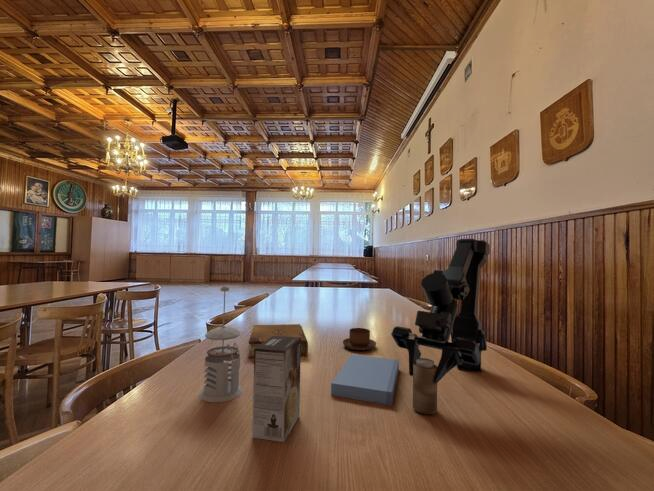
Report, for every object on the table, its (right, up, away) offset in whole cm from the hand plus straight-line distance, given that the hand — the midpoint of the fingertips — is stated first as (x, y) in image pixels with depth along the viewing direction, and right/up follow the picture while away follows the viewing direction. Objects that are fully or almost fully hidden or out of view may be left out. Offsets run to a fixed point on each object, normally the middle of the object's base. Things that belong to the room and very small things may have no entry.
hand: (422, 378), depth 64 cm
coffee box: (-30, -7, -6) cm, 31 cm away
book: (-9, -8, +15) cm, 20 cm away
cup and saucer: (-9, -9, +44) cm, 46 cm away
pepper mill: (+1, -7, +1) cm, 7 cm away
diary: (-38, -8, +43) cm, 58 cm away
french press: (-45, -7, +7) cm, 46 cm away
